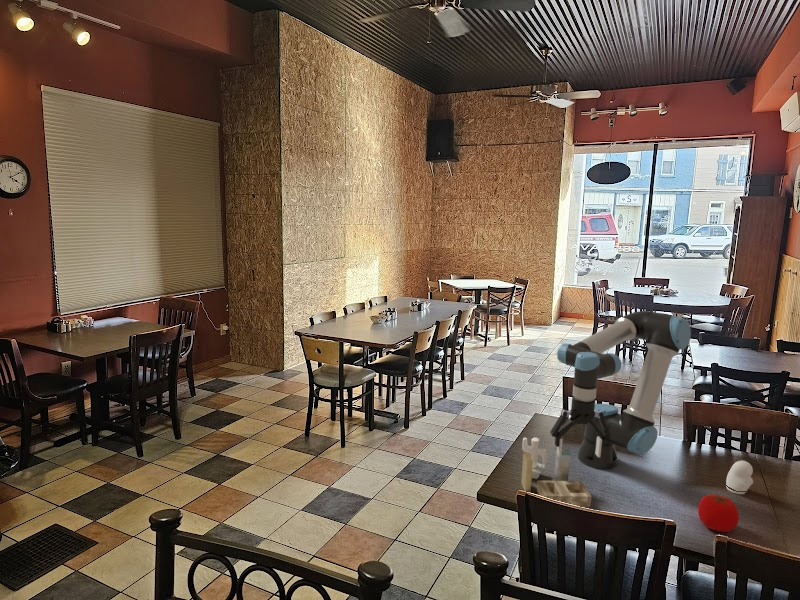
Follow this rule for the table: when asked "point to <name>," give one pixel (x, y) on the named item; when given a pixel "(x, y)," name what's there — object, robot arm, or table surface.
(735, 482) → the figurine
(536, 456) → the figurine
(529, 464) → the pale yellow rectangular block
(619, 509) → the table surface
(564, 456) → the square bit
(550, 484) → the socket block
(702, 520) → the tomato
